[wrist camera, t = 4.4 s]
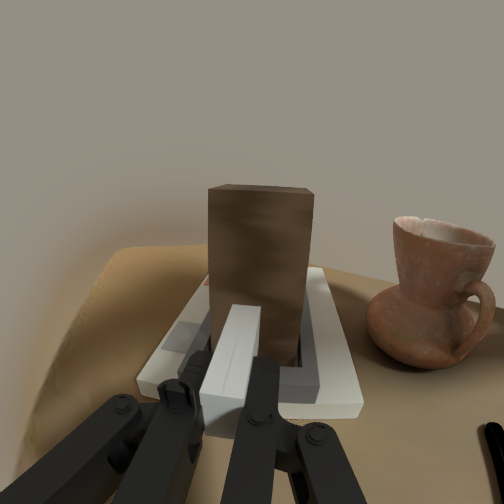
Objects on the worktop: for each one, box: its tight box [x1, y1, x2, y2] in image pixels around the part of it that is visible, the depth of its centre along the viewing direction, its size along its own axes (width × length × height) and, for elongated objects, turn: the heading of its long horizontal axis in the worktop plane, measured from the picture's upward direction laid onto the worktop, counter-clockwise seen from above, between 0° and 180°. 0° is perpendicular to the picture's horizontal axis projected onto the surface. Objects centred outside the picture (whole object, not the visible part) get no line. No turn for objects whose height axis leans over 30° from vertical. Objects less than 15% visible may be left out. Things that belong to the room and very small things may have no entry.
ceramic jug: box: [366, 216, 496, 369], centre depth 24 cm, size 18×14×14 cm
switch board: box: [136, 267, 364, 419], centre depth 32 cm, size 18×30×4 cm, turn 174°
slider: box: [208, 184, 314, 367], centre depth 22 cm, size 7×6×14 cm
